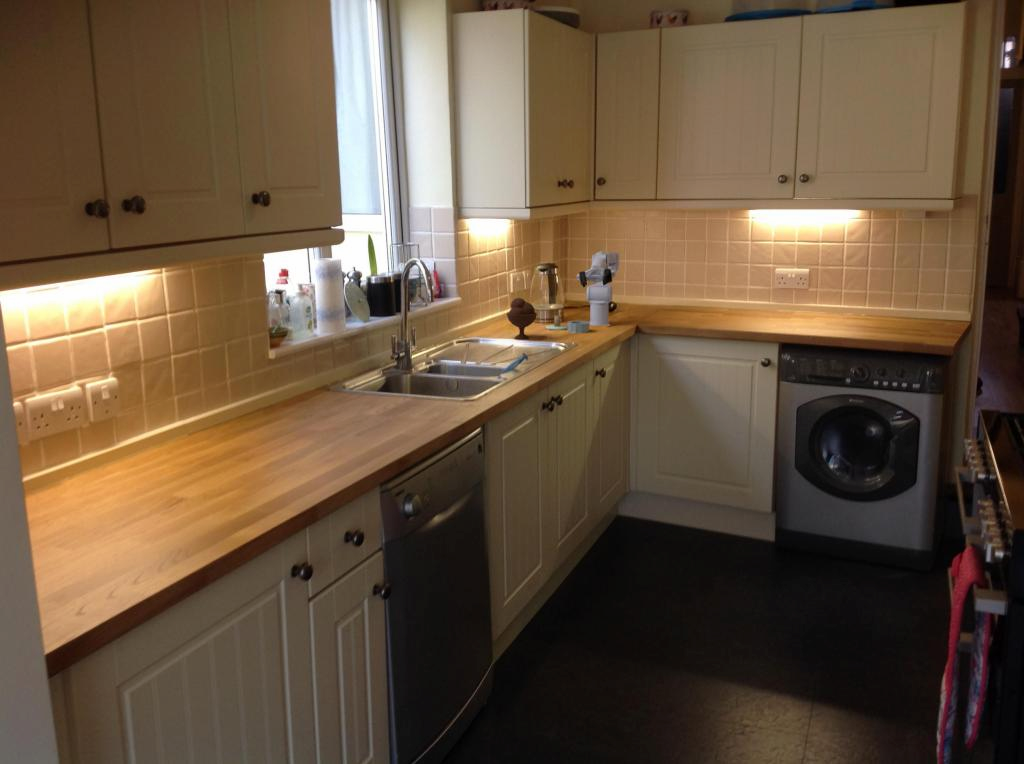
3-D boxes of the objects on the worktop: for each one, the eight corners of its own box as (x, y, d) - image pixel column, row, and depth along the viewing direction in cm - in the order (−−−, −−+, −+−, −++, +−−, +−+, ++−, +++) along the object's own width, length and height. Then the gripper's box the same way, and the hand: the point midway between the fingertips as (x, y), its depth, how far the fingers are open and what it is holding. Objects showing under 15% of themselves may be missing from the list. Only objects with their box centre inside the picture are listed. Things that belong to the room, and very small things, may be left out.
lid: (545, 326, 380) (545, 314, 379) (567, 326, 380) (568, 314, 379) (546, 330, 371) (546, 317, 370) (569, 330, 371) (569, 317, 370)
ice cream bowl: (512, 341, 350) (512, 300, 347) (503, 336, 360) (503, 296, 357) (540, 340, 353) (540, 299, 349) (531, 335, 363) (531, 295, 360)
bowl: (567, 331, 372) (567, 320, 372) (587, 330, 373) (587, 320, 372) (568, 334, 365) (568, 324, 364) (589, 334, 365) (590, 323, 364)
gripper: (577, 262, 374) (572, 275, 363) (614, 258, 371) (611, 272, 359) (580, 279, 378) (575, 293, 366) (617, 275, 374) (613, 289, 362)
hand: (593, 283), depth 363 cm, fingers open, 7 cm apart
